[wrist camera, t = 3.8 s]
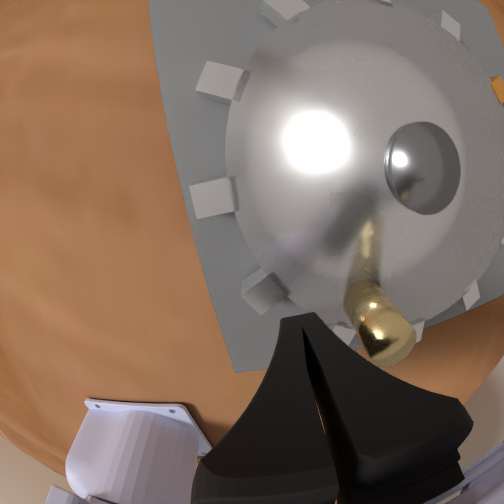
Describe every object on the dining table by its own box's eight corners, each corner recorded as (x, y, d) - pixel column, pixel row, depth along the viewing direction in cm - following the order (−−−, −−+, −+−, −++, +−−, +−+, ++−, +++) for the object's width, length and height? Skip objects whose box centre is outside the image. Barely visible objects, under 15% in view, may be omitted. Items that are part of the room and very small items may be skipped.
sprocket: (244, 366, 13) (243, 435, 9) (163, 9, 7) (126, -43, 3) (498, 292, 12) (537, 324, 8) (480, 25, 6) (526, 12, 2)
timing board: (235, 360, 15) (235, 375, 14) (152, -10, 8) (145, -20, 6) (505, 283, 14) (514, 290, 12) (477, 9, 6) (487, 5, 5)
